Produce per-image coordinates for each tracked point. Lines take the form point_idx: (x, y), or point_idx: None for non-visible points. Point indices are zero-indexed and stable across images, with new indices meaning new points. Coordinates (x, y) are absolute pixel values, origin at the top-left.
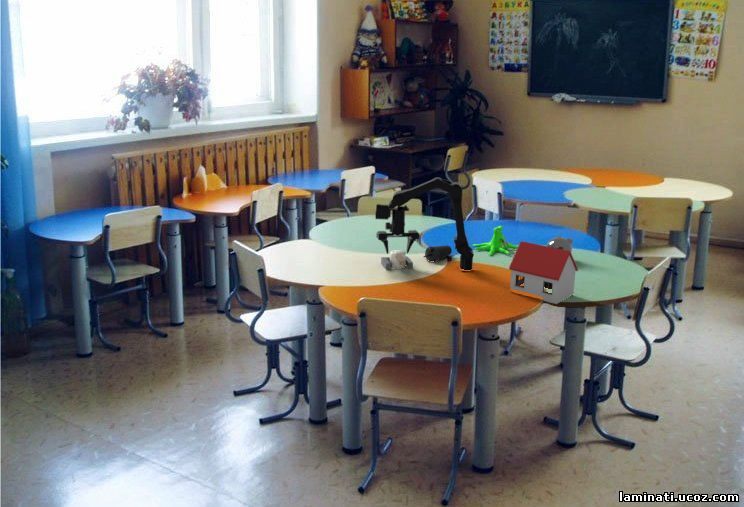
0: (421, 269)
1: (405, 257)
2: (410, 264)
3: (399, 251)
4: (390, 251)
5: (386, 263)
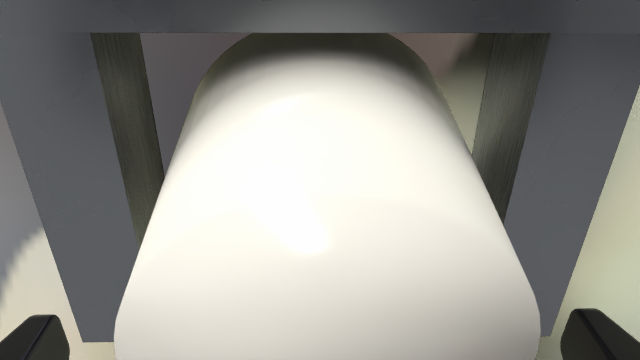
0: (625, 281)
1: (589, 14)
2: None
3: (393, 323)
4: (128, 303)
5: (91, 339)
